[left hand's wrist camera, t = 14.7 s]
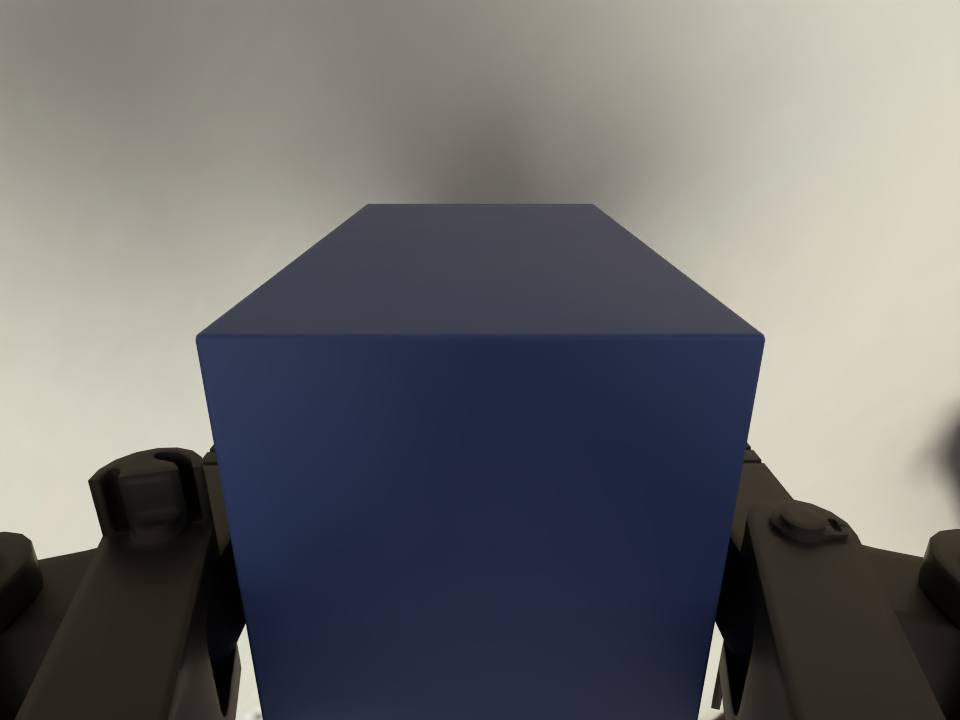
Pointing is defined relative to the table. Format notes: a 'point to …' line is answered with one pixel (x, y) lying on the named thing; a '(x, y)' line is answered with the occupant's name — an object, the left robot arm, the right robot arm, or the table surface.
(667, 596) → the bar
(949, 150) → the table surface
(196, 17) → the table surface
